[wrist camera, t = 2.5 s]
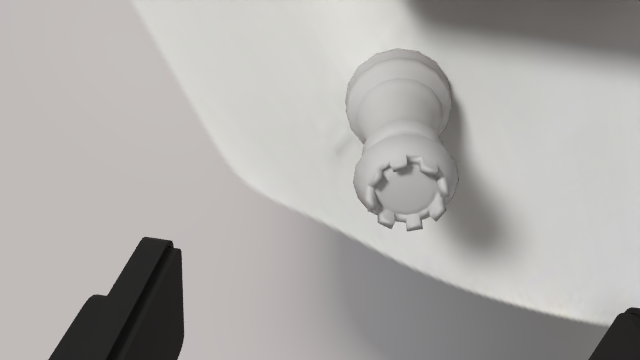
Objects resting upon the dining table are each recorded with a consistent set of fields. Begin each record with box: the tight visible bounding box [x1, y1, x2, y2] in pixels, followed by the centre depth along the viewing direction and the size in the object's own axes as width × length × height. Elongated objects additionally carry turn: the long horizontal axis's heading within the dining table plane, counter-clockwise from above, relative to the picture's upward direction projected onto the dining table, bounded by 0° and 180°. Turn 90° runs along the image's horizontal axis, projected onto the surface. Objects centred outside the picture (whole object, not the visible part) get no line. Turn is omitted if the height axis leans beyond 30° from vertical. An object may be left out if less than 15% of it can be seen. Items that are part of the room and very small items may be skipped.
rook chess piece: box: [345, 49, 459, 231], centre depth 18 cm, size 4×4×8 cm
